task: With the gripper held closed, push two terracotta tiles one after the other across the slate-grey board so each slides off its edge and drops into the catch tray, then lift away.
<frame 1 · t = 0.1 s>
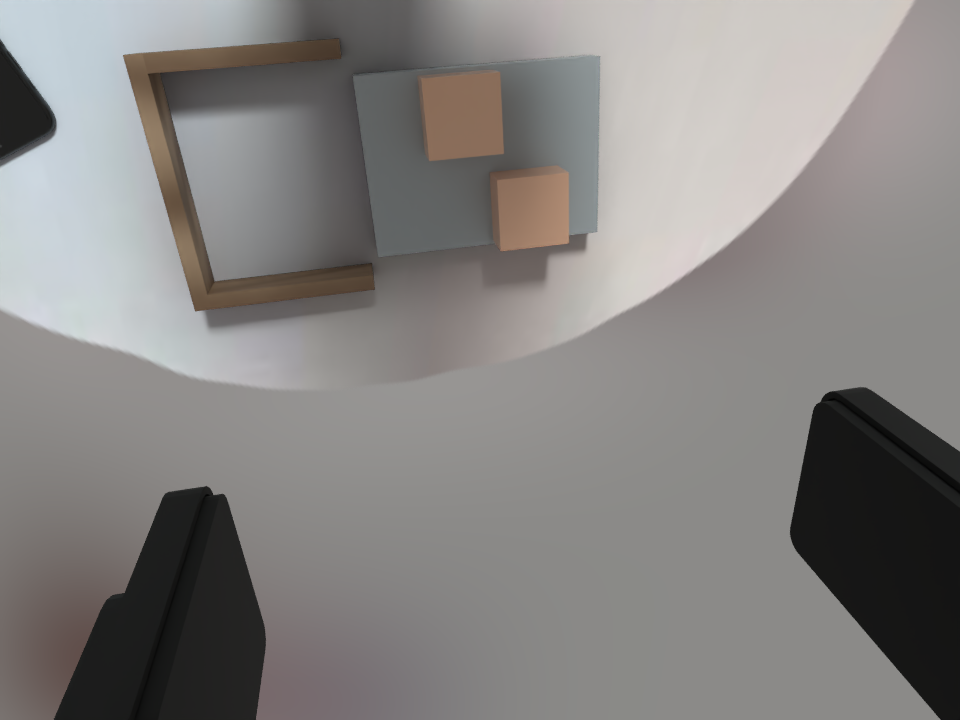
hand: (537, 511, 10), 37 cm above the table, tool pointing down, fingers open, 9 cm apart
board: (479, 155, 44), on the table
tile a: (457, 112, 41), point 2 cm above the table, touching board
tile b: (524, 203, 44), point 2 cm above the table, touching board
catch tray: (278, 174, 42), on the table
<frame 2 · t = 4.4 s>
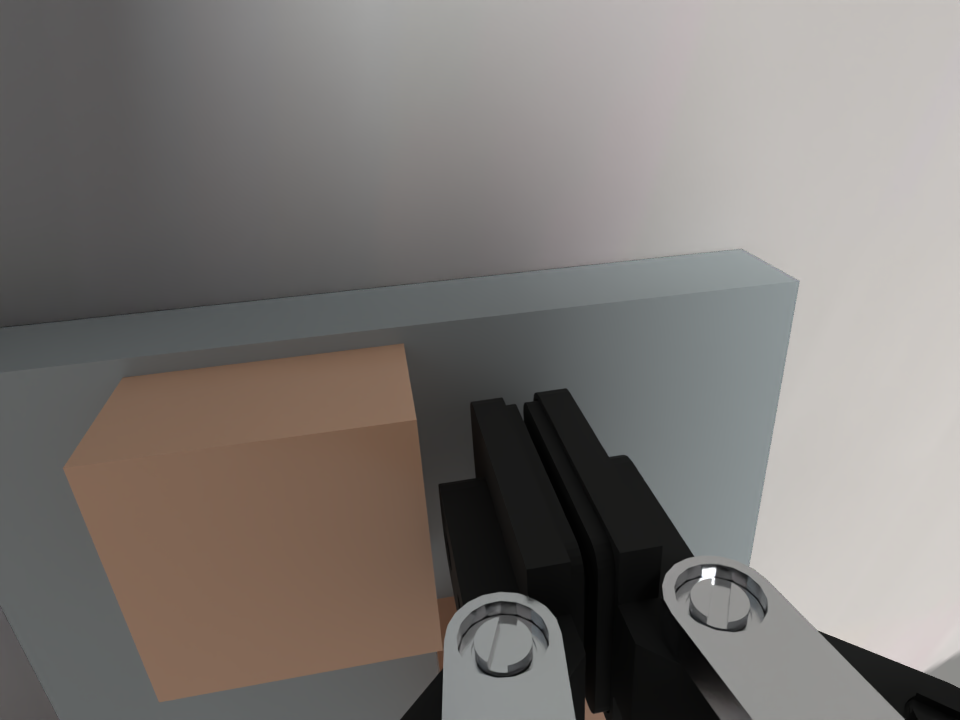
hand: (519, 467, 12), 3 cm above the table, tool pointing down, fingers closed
board: (407, 512, 15), on the table
tile a: (291, 471, 12), point 2 cm above the table, touching gripper
tile b: (536, 655, 15), point 2 cm above the table, touching board
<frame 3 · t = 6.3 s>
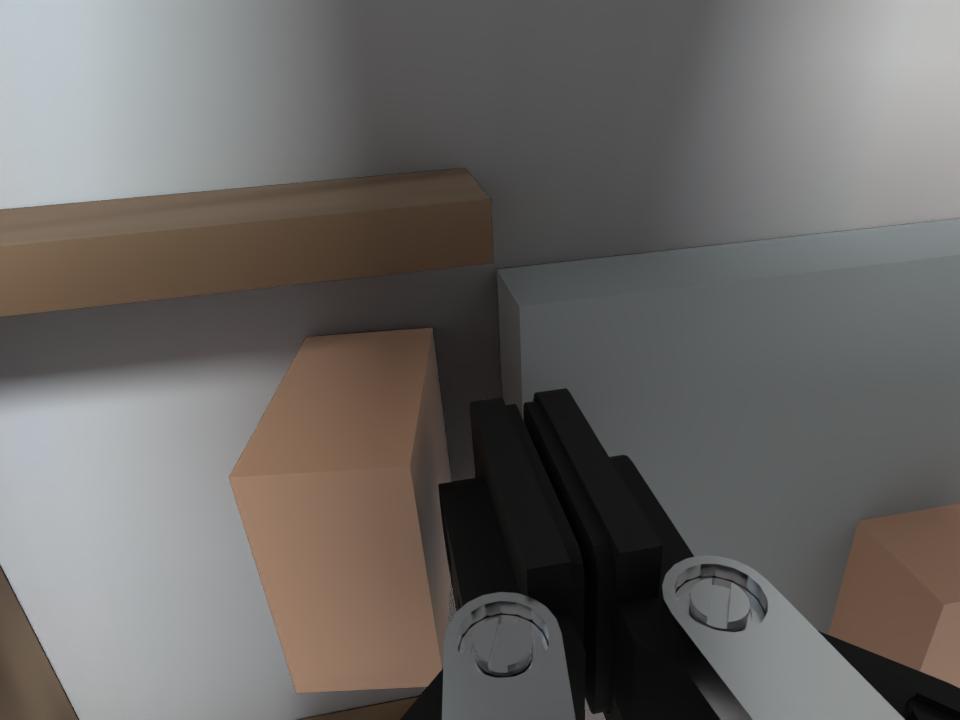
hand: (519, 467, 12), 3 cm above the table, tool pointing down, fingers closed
board: (801, 446, 17), on the table
tile a: (438, 492, 12), point 3 cm above the table, tilted 100°
tile b: (921, 577, 17), point 2 cm above the table, touching board
catch tray: (266, 529, 15), on the table
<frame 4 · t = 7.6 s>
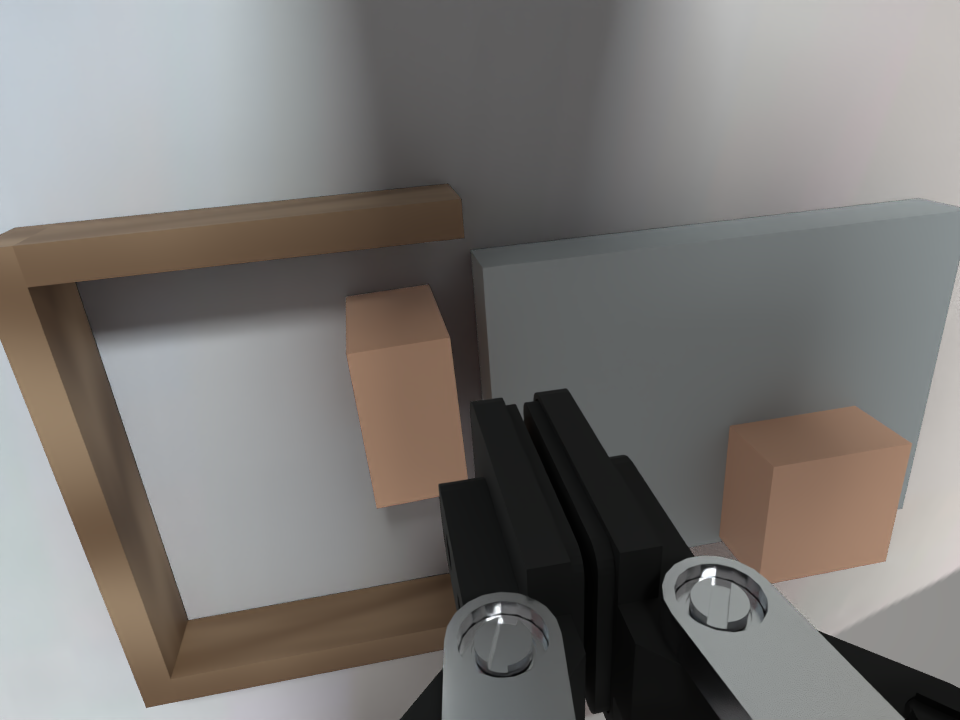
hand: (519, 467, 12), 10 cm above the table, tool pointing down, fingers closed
board: (695, 380, 23), on the table
tile a: (447, 381, 19), point 2 cm above the table, tilted 90°
tile b: (785, 472, 23), point 2 cm above the table, touching board
catch tray: (315, 436, 21), on the table
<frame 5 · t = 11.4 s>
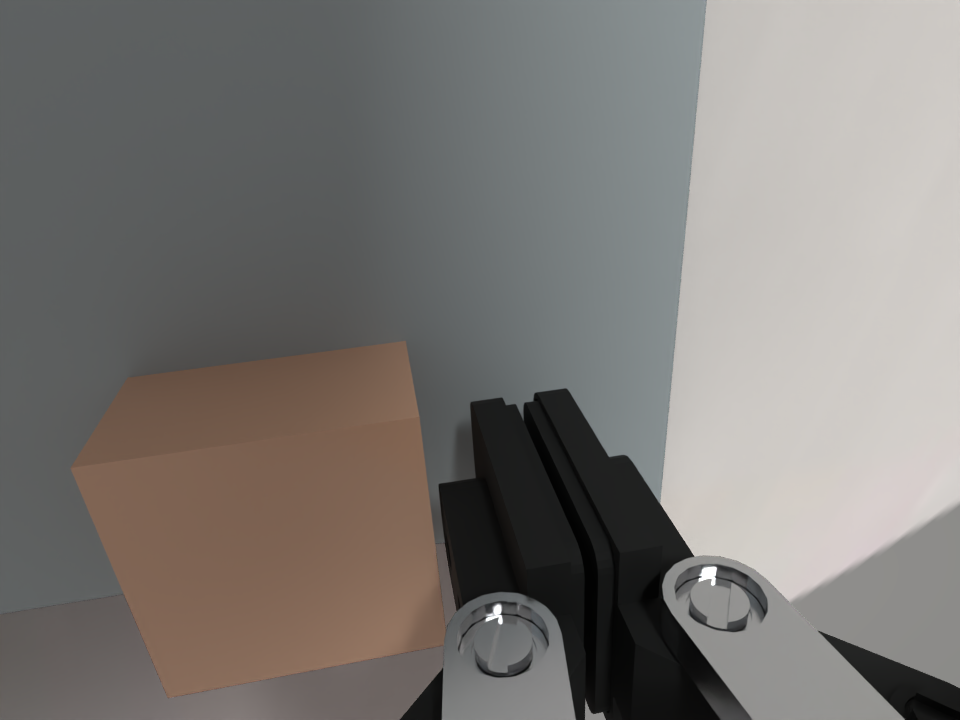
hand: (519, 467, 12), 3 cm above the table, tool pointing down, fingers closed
board: (251, 266, 12), on the table
tile b: (296, 469, 12), point 2 cm above the table, touching board, gripper
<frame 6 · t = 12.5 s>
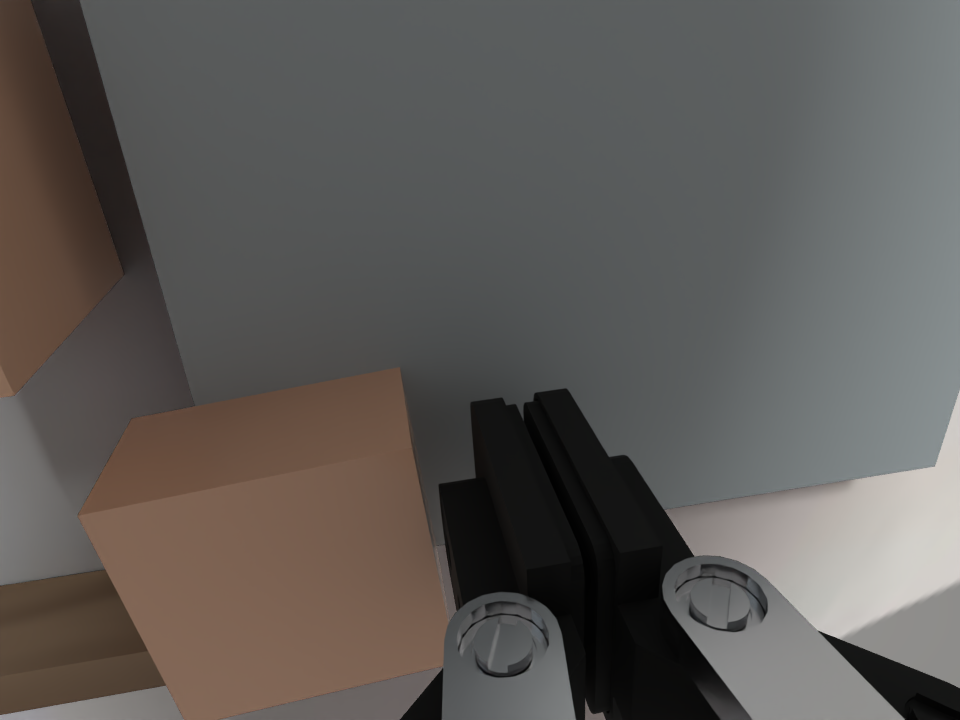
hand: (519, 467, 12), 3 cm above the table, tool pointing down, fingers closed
board: (590, 234, 13), on the table
tile a: (21, 171, 9), point 2 cm above the table, tilted 90°
tile b: (301, 496, 12), point 2 cm above the table, touching board, gripper
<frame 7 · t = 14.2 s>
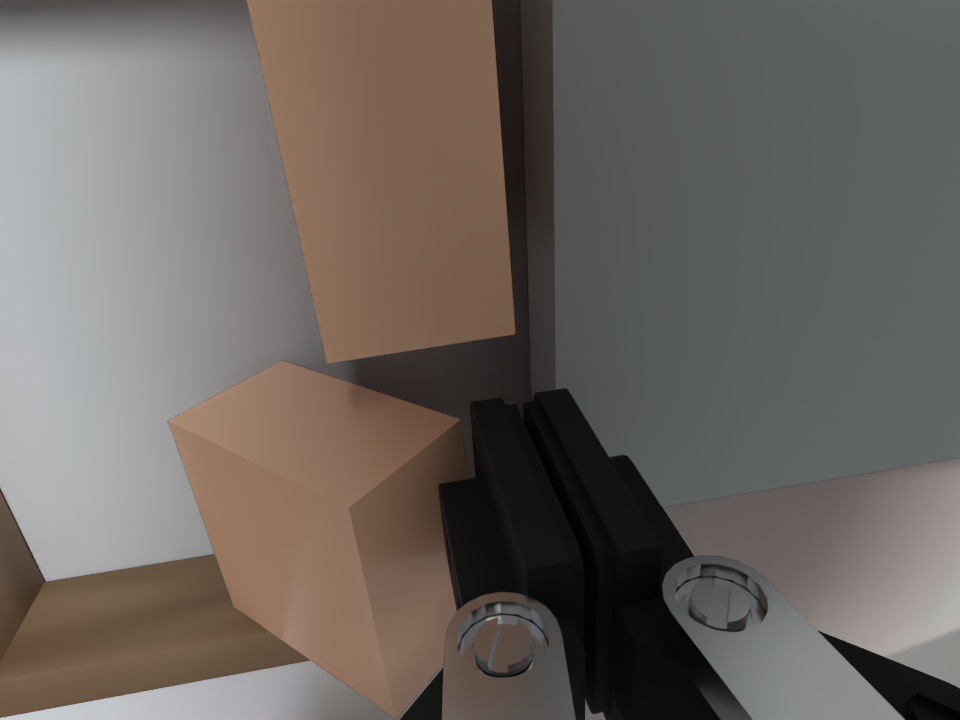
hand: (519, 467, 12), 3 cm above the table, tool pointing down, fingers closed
board: (876, 200, 14), on the table
tile a: (472, 134, 10), point 2 cm above the table, tilted 90°
tile b: (381, 486, 13), point 2 cm above the table, tilted 46°, touching gripper
catch tray: (236, 270, 12), on the table
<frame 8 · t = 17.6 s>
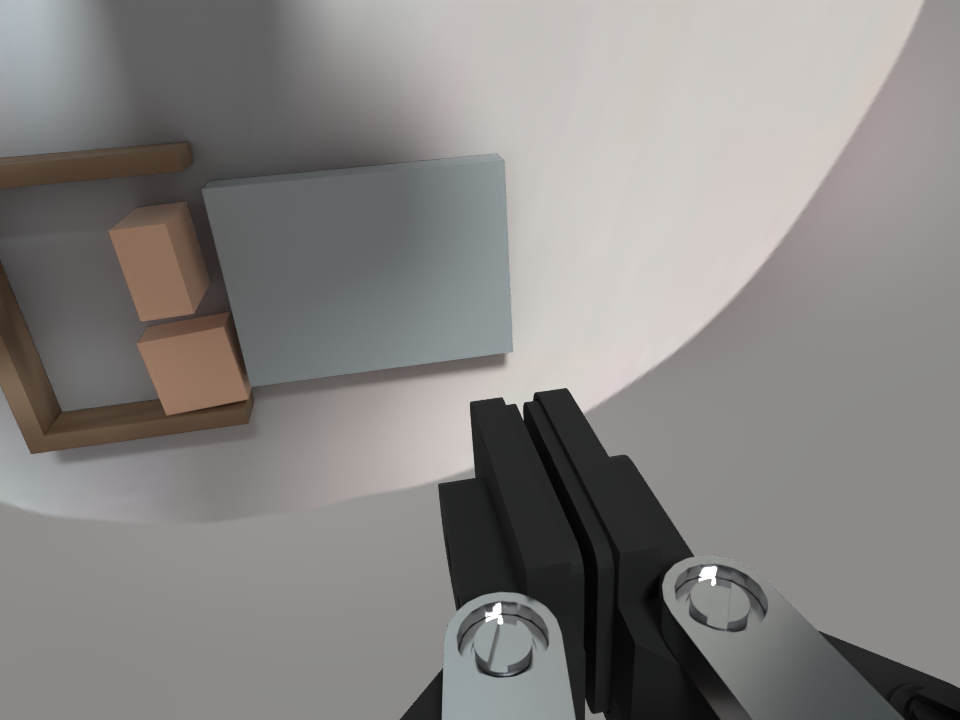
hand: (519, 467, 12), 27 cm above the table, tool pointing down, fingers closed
board: (371, 266, 37), on the table
tile a: (190, 255, 33), point 2 cm above the table, tilted 90°
tile b: (203, 352, 38), on the table
catch tray: (128, 294, 36), on the table
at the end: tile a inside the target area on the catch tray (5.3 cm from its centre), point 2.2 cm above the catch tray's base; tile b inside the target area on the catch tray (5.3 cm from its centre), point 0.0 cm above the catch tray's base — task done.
